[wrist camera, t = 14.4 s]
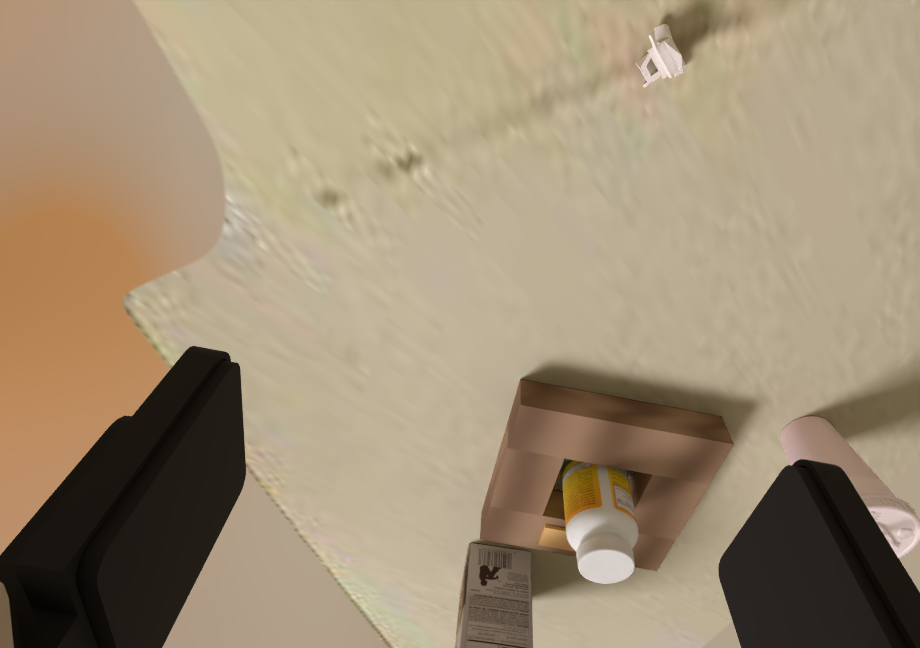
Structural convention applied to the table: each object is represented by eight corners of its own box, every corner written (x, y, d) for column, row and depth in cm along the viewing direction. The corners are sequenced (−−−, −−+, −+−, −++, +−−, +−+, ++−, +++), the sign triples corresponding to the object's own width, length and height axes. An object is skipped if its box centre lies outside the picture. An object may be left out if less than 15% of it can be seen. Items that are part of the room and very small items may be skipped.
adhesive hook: (687, 61, 32) (701, 72, 30) (644, 91, 33) (654, 104, 31) (661, 12, 31) (674, 19, 28) (617, 44, 32) (626, 53, 29)
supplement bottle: (631, 447, 48) (654, 548, 40) (617, 491, 51) (636, 593, 43) (566, 440, 48) (576, 539, 40) (555, 484, 51) (563, 585, 43)
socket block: (721, 416, 45) (735, 447, 42) (650, 541, 54) (657, 574, 51) (520, 379, 45) (520, 407, 42) (481, 511, 54) (479, 542, 51)
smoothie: (797, 392, 43) (900, 557, 32) (870, 418, 44) (997, 589, 32) (745, 448, 47) (821, 616, 35) (814, 471, 48) (911, 643, 36)
